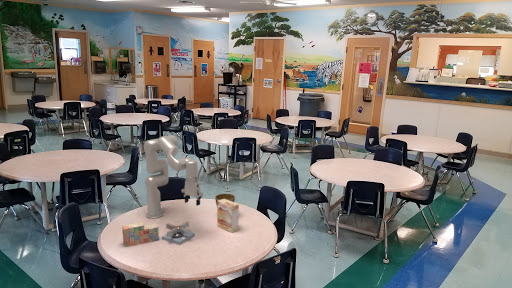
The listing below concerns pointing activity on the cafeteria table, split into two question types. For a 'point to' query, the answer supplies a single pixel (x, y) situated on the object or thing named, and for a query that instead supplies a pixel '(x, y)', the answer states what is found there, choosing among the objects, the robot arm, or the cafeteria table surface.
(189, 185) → the robot arm
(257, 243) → the cafeteria table surface
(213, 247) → the cafeteria table surface
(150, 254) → the cafeteria table surface
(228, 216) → the coffeecake box
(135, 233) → the stack of blocks
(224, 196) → the plant pot
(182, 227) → the capstan
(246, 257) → the cafeteria table surface
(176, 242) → the stand
